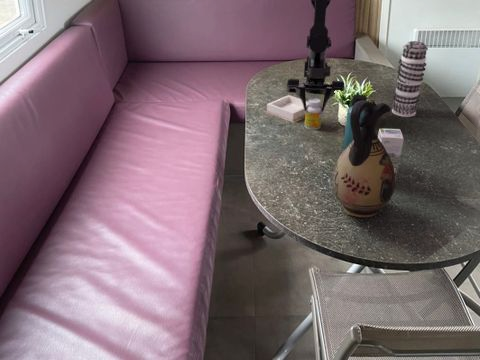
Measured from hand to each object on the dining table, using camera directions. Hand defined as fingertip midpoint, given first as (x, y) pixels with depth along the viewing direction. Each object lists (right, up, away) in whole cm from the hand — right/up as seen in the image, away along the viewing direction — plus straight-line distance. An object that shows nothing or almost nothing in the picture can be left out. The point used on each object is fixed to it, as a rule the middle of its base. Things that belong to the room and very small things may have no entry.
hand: (313, 110), depth 167 cm
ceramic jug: (+6, -30, -37) cm, 48 cm away
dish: (-6, +2, +15) cm, 16 cm away
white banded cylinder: (+35, +1, +15) cm, 38 cm away
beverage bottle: (+10, -16, -14) cm, 24 cm away
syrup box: (+16, -23, -24) cm, 37 cm away
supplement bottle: (0, -5, +5) cm, 7 cm away
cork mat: (-6, +2, +15) cm, 16 cm away
